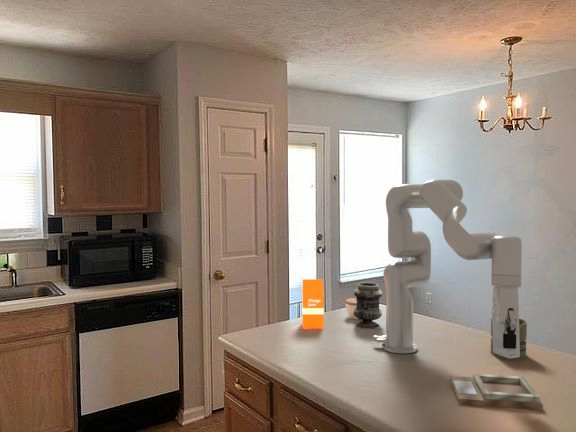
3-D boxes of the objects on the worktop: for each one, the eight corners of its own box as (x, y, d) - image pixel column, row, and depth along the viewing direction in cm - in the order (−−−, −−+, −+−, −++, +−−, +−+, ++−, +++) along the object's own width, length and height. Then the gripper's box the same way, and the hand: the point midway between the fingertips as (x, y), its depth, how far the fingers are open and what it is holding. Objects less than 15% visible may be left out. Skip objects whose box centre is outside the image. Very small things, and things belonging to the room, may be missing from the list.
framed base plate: (458, 404, 128) (458, 393, 128) (449, 380, 144) (449, 371, 144) (542, 410, 125) (543, 398, 124) (524, 385, 140) (524, 375, 140)
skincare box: (520, 357, 131) (521, 313, 130) (507, 359, 129) (508, 314, 129) (503, 350, 137) (503, 308, 136) (491, 352, 135) (491, 309, 135)
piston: (488, 315, 173) (521, 317, 171) (487, 348, 174) (520, 350, 172) (494, 324, 162) (531, 325, 160) (494, 358, 163) (530, 361, 161)
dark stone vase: (375, 331, 196) (375, 287, 195) (348, 327, 202) (348, 284, 201) (386, 324, 206) (386, 282, 205) (360, 320, 212) (360, 280, 211)
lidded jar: (344, 320, 213) (344, 299, 213) (345, 313, 224) (345, 294, 223) (369, 321, 211) (369, 299, 211) (369, 314, 222) (369, 294, 221)
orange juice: (323, 328, 200) (323, 281, 199) (302, 328, 200) (302, 281, 199) (322, 323, 208) (322, 277, 207) (302, 323, 208) (302, 277, 207)
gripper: (484, 274, 141) (484, 334, 142) (499, 285, 124) (499, 353, 125) (512, 275, 140) (511, 335, 141) (530, 286, 123) (529, 354, 124)
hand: (505, 343), depth 133 cm, fingers closed on skincare box, 7 cm apart
